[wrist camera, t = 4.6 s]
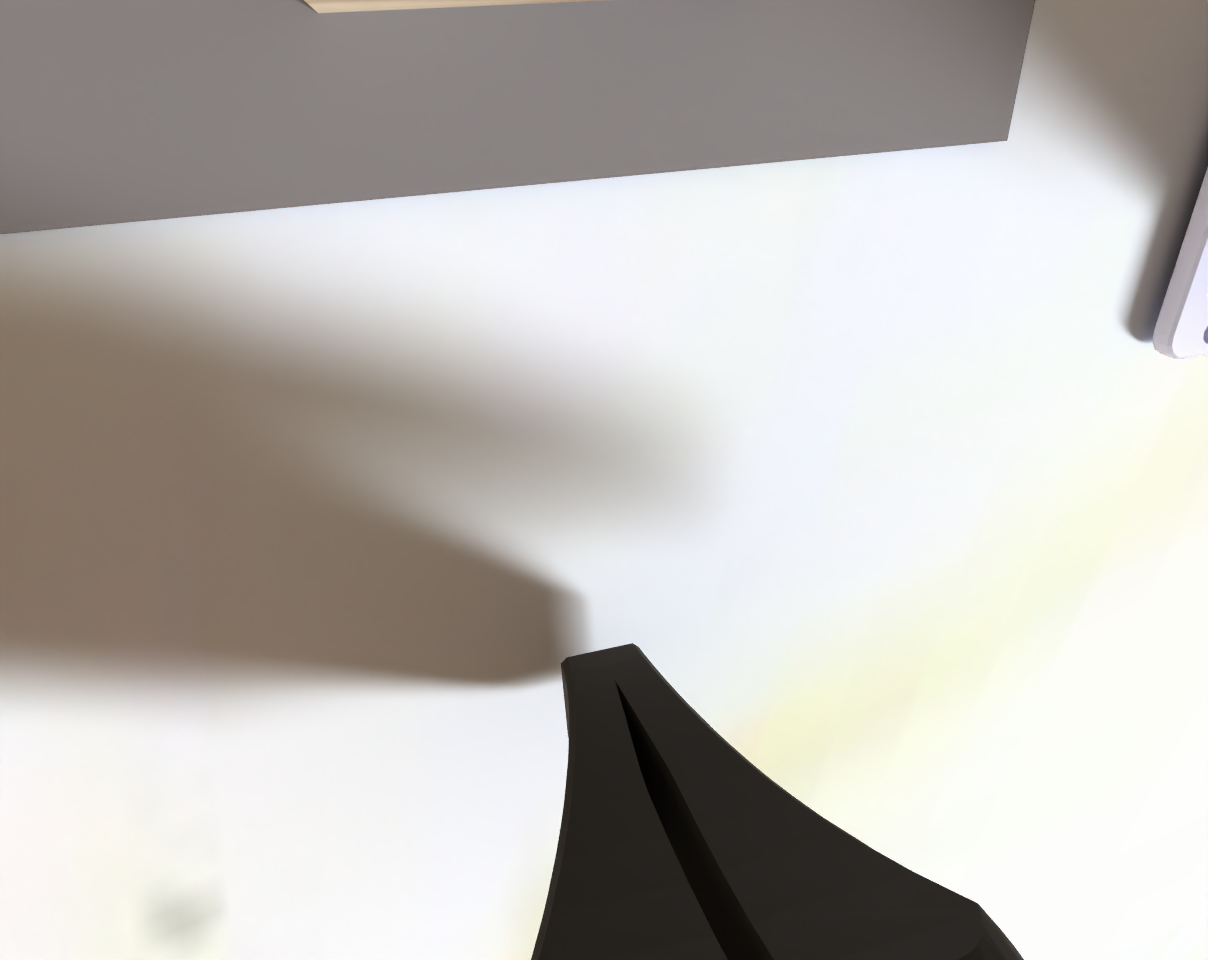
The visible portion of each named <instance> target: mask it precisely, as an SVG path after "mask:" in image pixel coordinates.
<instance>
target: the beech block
mask: <svg viewBox="0 0 1208 960" xmlns="http://www.w3.org/2000/svg"><path fill="white" fill-rule="evenodd" d="M304 1H305V2H306V3H307V4H309V5H310V6H311V7H312V8H313V9H314V10H315V11H316V12H318V13H334V12H356V11H379V10H401V9H424V8H446V7H469V6H491V5H514V4H536V3H559V2H581V1H604V0H304Z"/></svg>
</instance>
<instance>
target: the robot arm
mask: <svg viewBox="0 0 1208 960" xmlns="http://www.w3.org/2000/svg"><path fill="white" fill-rule="evenodd" d="M1153 344H1154V348H1155V350H1157V351H1158V352H1159V353H1161V354H1164V355H1166V356H1169V357H1172V358H1176V359H1185V358H1191V357H1197V356H1203V355H1208V168H1207V171H1206V174H1205V177H1204V180H1203V183H1202V186H1201V189H1200V192H1199V195H1198V198H1197V201H1196V204H1195V207H1194V210H1193V213H1192V216H1191V219H1190V222H1189V226H1188V229H1187V232H1186V235H1185V238H1184V241H1183V244H1182V247H1181V250H1180V253H1179V256H1178V259H1177V262H1176V265H1175V268H1174V271H1173V274H1172V277H1171V280H1170V283H1169V286H1168V289H1167V293H1166V296H1165V299H1164V302H1163V305H1162V308H1161V311H1160V314H1159V317H1158V320H1157V323H1156V326H1155V329H1154V334H1153ZM561 669H562V679H563V689H564V699H565V709H566V719H567V729H568V737H569V755H568V769H567V779H566V790H565V800H564V808H563V815H562V822H561V829H560V835H559V841H558V847H557V853H556V858H555V863H554V868H553V873H552V878H551V882H550V887H549V892H548V897H547V901H546V905H545V910H544V914H543V918H542V922H541V925H540V929H539V933H538V936H537V940H536V944H535V947H534V951H533V955H532V958H531V960H1024V959H1023V958H1022V957H1021V955H1020V954H1019V952H1018V951H1017V950H1016V948H1015V947H1014V946H1013V944H1012V943H1011V942H1010V941H1009V939H1008V938H1007V937H1006V936H1005V934H1004V933H1003V932H1002V931H1001V929H1000V928H999V927H998V926H997V925H996V924H995V923H994V922H993V920H992V919H991V918H990V917H989V916H988V915H987V914H986V912H985V911H984V910H983V909H982V908H981V907H980V905H979V904H978V903H976V902H974V901H972V900H969V899H967V898H965V897H963V896H961V895H959V894H957V893H955V892H953V891H951V890H949V889H947V888H945V887H943V886H941V885H939V884H937V883H935V882H933V881H931V880H929V879H927V878H924V877H922V876H920V875H918V874H916V873H914V872H912V871H911V870H909V869H907V868H905V867H904V866H902V865H900V864H898V863H896V862H895V861H893V860H891V859H889V858H888V857H886V856H884V855H882V854H881V853H879V852H877V851H875V850H874V849H872V848H870V847H869V846H867V845H866V844H864V843H862V842H861V841H859V840H858V839H856V838H855V837H853V836H851V835H850V834H848V833H847V832H845V831H844V830H842V829H840V828H839V827H837V826H836V825H834V824H832V823H831V822H829V821H828V820H826V819H825V818H823V817H822V816H820V815H819V814H817V813H816V812H814V811H813V810H812V809H810V808H809V807H807V806H806V805H805V804H803V803H802V802H800V801H799V800H798V799H796V798H795V797H793V796H792V795H791V794H789V793H788V792H787V791H785V790H784V789H783V788H782V787H780V786H779V785H778V784H776V783H775V782H774V781H772V780H771V779H770V778H769V777H767V776H766V775H765V774H764V773H762V772H761V771H760V770H759V769H758V768H756V767H755V766H754V765H753V764H752V763H750V762H749V761H748V760H747V759H746V758H745V757H743V756H742V755H741V754H740V753H739V752H738V751H737V750H736V749H734V748H733V747H732V746H731V745H730V744H729V743H728V742H727V741H725V740H724V739H723V738H722V737H721V736H720V735H719V734H718V733H717V732H716V731H715V730H714V729H713V728H712V727H711V726H710V725H709V724H708V723H707V722H706V721H705V720H704V719H703V718H702V717H701V716H700V715H699V714H698V713H697V712H696V711H695V710H694V709H693V708H692V707H691V706H690V705H689V704H688V703H687V702H686V701H685V700H684V699H683V698H682V697H681V696H680V695H679V694H678V693H677V692H676V691H675V689H674V688H673V687H672V686H671V685H670V684H669V683H668V682H667V681H666V680H665V678H664V677H663V676H662V675H661V674H660V673H659V672H658V670H657V669H656V668H655V667H654V666H653V664H652V663H651V662H650V661H649V660H648V658H647V657H646V656H645V655H644V653H643V652H642V651H641V650H640V648H639V647H638V646H636V645H635V644H633V643H632V644H627V645H623V646H618V647H613V648H609V649H604V650H599V651H595V652H590V653H585V654H581V655H576V656H572V657H567V658H566V659H565V660H564V661H563V662H562V663H561Z"/></svg>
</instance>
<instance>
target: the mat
mask: <svg viewBox="0 0 1208 960" xmlns="http://www.w3.org/2000/svg"><path fill="white" fill-rule="evenodd" d="M1034 3H1035V0H604V1H581V2H559V3H536V4H514V5H491V6H469V7H446V8H424V9H401V10H379V11H356V12H334V13H318V12H316V11H315V10H314V9H313V8H312V7H311V6H310V5H309V4H307V3H306V2H305V1H304V0H0V234H7V233H18V232H28V231H39V230H50V229H61V228H71V227H82V226H93V225H104V224H114V223H125V222H136V221H147V220H158V219H168V218H179V217H190V216H201V215H211V214H222V213H233V212H244V211H255V210H265V209H276V208H287V207H298V206H308V205H319V204H330V203H341V202H351V201H362V200H373V199H384V198H395V197H405V196H416V195H427V194H438V193H448V192H459V191H470V190H481V189H492V188H502V187H513V186H524V185H535V184H545V183H556V182H567V181H578V180H588V179H599V178H610V177H621V176H632V175H642V174H653V173H664V172H675V171H685V170H696V169H707V168H718V167H729V166H739V165H750V164H761V163H772V162H782V161H793V160H804V159H815V158H825V157H836V156H847V155H858V154H869V153H879V152H890V151H901V150H912V149H922V148H933V147H944V146H955V145H966V144H976V143H987V142H998V141H1007V138H1008V133H1009V128H1010V123H1011V118H1012V113H1013V108H1014V103H1015V98H1016V93H1017V88H1018V83H1019V78H1020V73H1021V68H1022V63H1023V58H1024V53H1025V48H1026V43H1027V38H1028V33H1029V28H1030V23H1031V18H1032V13H1033V8H1034Z"/></svg>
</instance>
